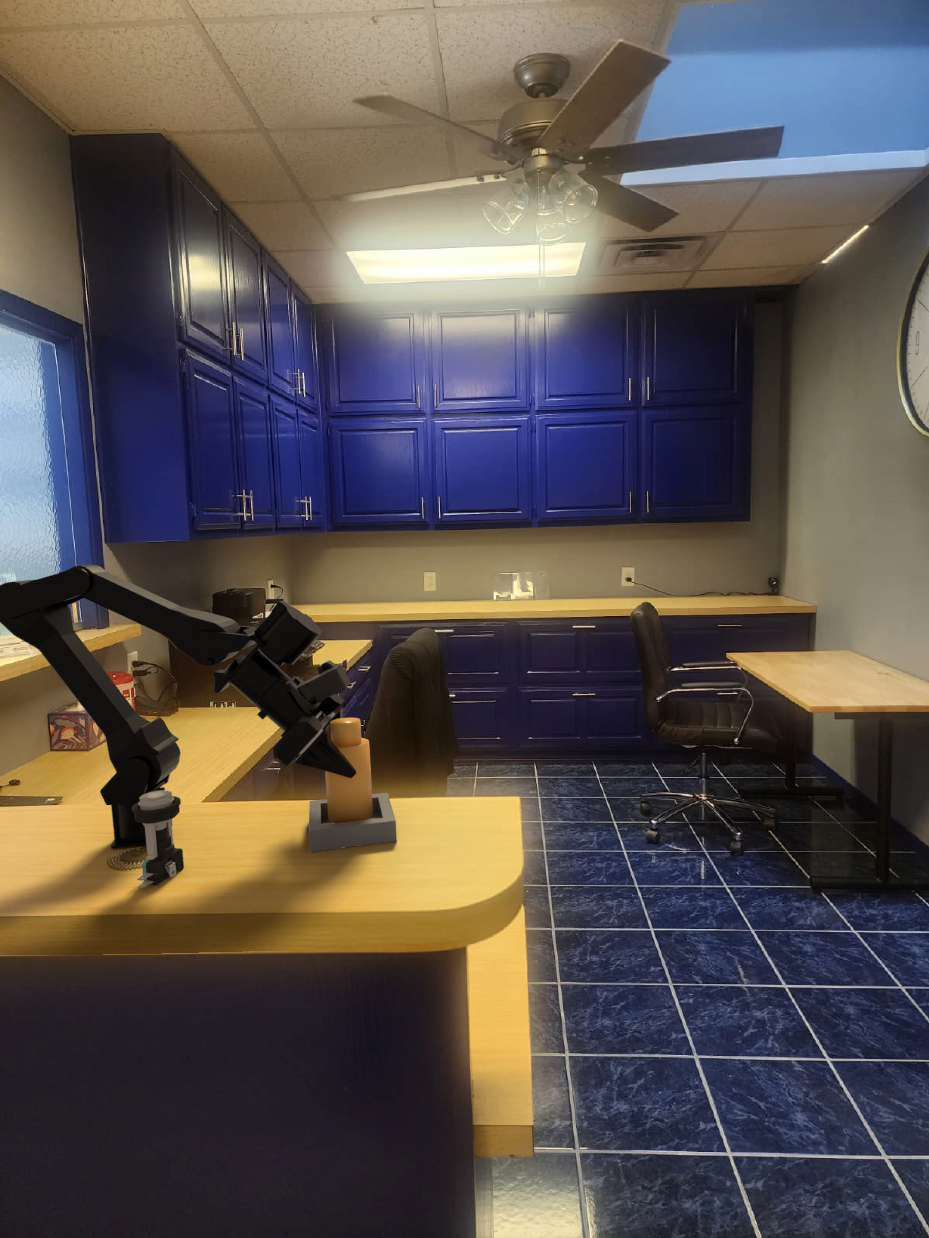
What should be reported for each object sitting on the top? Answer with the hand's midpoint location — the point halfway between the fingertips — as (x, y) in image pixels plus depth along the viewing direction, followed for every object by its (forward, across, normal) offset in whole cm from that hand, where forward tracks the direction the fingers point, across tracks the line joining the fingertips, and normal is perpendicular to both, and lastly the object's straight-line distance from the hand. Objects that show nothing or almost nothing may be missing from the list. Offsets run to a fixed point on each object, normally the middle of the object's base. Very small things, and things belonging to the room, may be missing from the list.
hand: (358, 767), depth 98 cm
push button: (-9, -13, +22) cm, 27 cm away
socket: (+5, 0, +7) cm, 9 cm away
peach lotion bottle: (+4, 0, +6) cm, 7 cm away
